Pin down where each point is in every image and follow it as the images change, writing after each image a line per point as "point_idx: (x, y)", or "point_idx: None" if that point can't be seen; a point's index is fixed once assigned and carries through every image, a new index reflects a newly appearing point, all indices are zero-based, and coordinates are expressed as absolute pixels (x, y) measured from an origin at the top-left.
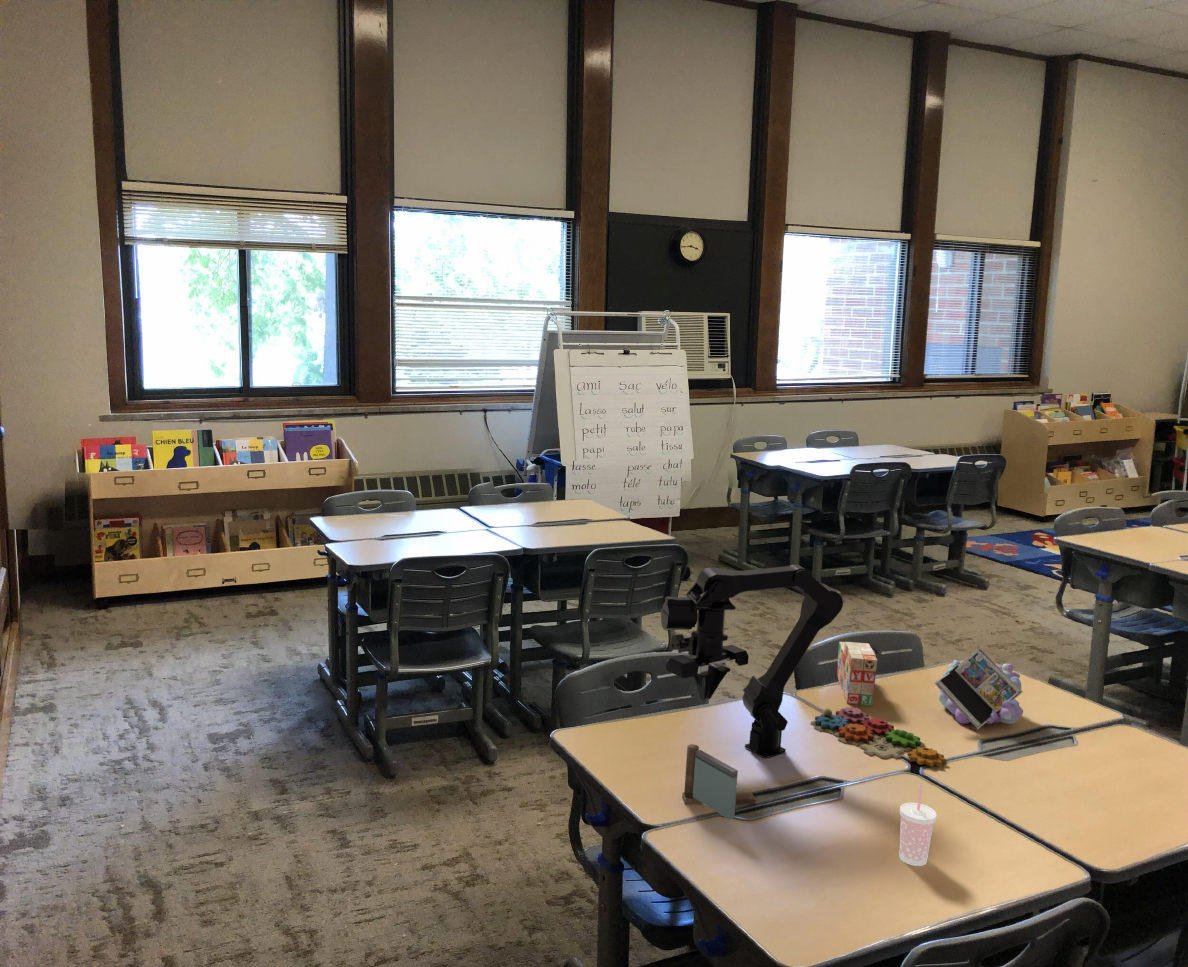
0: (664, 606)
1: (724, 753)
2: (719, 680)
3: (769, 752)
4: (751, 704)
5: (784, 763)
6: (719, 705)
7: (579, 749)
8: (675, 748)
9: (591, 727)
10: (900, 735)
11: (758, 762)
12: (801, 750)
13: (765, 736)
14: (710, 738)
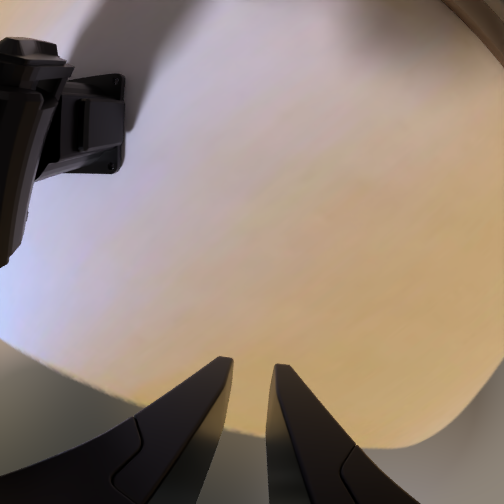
0: None
1: (208, 176)
2: (110, 473)
3: (95, 85)
4: (8, 138)
5: (106, 28)
6: (51, 364)
7: (465, 392)
8: (317, 297)
9: (365, 443)
10: None
11: (163, 64)
12: None
13: (71, 92)
14: (168, 279)
